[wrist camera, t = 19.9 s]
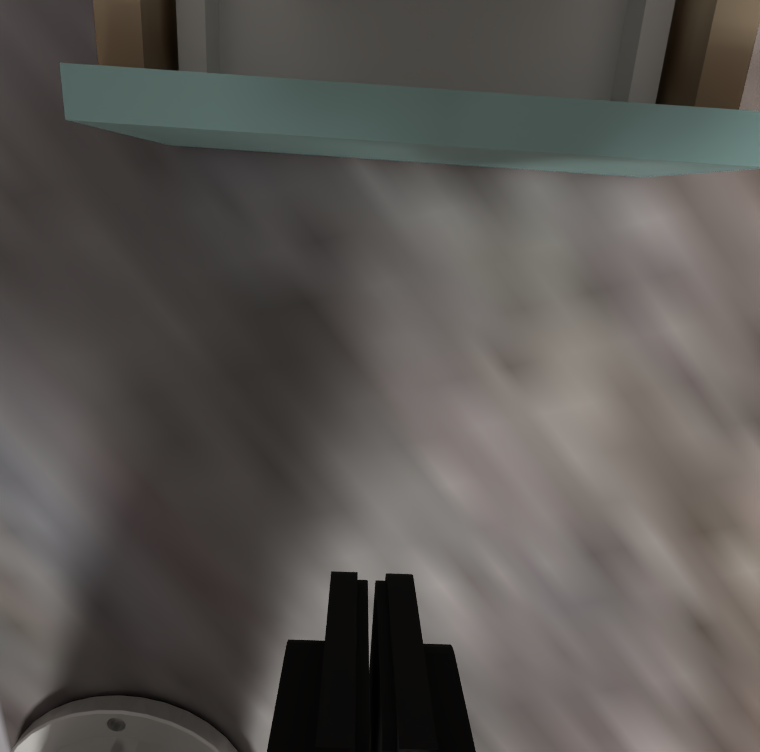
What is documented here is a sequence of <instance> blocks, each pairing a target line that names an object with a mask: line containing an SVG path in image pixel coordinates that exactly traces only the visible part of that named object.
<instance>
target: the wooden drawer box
mask: <svg viewBox="0 0 760 752" xmlns="http://www.w3.org/2000/svg"><path fill="white" fill-rule="evenodd" d="M93 10H94V22H95V34H96V46H97V58H98V65H103V66H117V67H131V68H146V69H160V70H175V71H179V63H178V40H177V16H176V0H93ZM759 23H760V0H675V5H674V10H673V15H672V21H671V26H670V31H669V36H668V41H667V46H666V51H665V56H664V62H663V67H662V72H661V77H660V82H659V87H658V92H657V98H656V103H655V104H663V105H677V106H692V107H706V108H720V109H735V110H739V107H740V103H741V98H742V94H743V90H744V86H745V82H746V77H747V73H748V69H749V65H750V60H751V56H752V52H753V48H754V44H755V39H756V35H757V31H758V27H759Z"/></svg>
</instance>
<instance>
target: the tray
mask: <svg viewBox="0 0 760 752" xmlns="http://www.w3.org/2000/svg"><path fill="white" fill-rule="evenodd" d="M674 5H675V0H176V16H177V40H178V63H179V71H175V70H160V69H146V68H131V67H117V66H103V65H88V64H74V63H60V62H59V64H60V74H61V84H62V94H63V104H64V114H65V120H67V121H72V122H76V123H80V124H84V125H88V126H92V127H96V128H100V129H104V130H108V131H113V132H117V133H121V134H125V135H129V136H133V137H137V138H141V139H145V140H150V141H154V142H158V143H162V144H166V145H170V146H185V147H200V148H215V149H230V150H245V151H259V152H274V153H289V154H304V155H319V156H334V157H349V158H364V159H378V160H393V161H408V162H423V163H438V164H453V165H468V166H482V167H497V168H512V169H527V170H542V171H557V172H572V173H587V174H601V175H616V176H631V177H655V176H669V175H682V174H695V173H709V172H722V171H736V170H749V169H760V111H749V110H735V109H720V108H706V107H692V106H677V105H663V104H655V103H656V98H657V92H658V87H659V82H660V77H661V72H662V67H663V62H664V56H665V51H666V46H667V41H668V36H669V31H670V26H671V21H672V15H673V10H674Z"/></svg>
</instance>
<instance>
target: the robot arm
mask: <svg viewBox="0 0 760 752" xmlns="http://www.w3.org/2000/svg"><path fill="white" fill-rule="evenodd" d="M11 752H238V751H237V750H236V749H235V748H234V746H233V745H232V744H231V743H230V742H229V741H228V739H227V738H226V737H225V736H224V735H222V734H221V733H220V732H219V731H218V730H216V729H215V728H214V727H213V726H211V725H210V724H209V723H207V722H206V721H204V720H202V719H201V718H199V717H197V716H195V715H194V714H192V713H190V712H188V711H186V710H183V709H181V708H178V707H175V706H173V705H170V704H168V703H164V702H160V701H156V700H152V699H147V698H143V697H132V696H121V695H115V696H99V697H91V698H86V699H82V700H77V701H73V702H69V703H67V704H64V705H62V706H60V707H57V708H55V709H52V710H50V711H49V712H47V713H46V714H44V715H43V716H41V717H40V718H39V719H37V720H36V721H34V722H33V723H32V724H31V725H30V727H29V728H28V729H27V730H26V731H25V732H24V733H23V734H22V735H21V737H20V738H19V740H18V741H17V743H16V744H15V746H14V747H13V749H12V750H11ZM267 752H476V751H475V746H474V742H473V737H472V732H471V728H470V723H469V719H468V714H467V709H466V705H465V700H464V696H463V691H462V686H461V682H460V677H459V672H458V668H457V663H456V659H455V654H454V650H453V647H452V646H451V645H446V644H423V640H422V633H421V626H420V620H419V613H418V606H417V599H416V592H415V585H414V578H413V575H412V574H387V573H386V578H385V581H376V583H375V595H374V610H373V624H372V639H371V654H370V668H369V639H368V581H367V580H357V572H332V571H331V581H330V592H329V603H328V614H327V625H326V636H325V641H315V640H288V642H287V645H286V650H285V656H284V661H283V667H282V672H281V678H280V683H279V689H278V694H277V699H276V705H275V710H274V716H273V721H272V727H271V732H270V738H269V743H268V749H267Z"/></svg>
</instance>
